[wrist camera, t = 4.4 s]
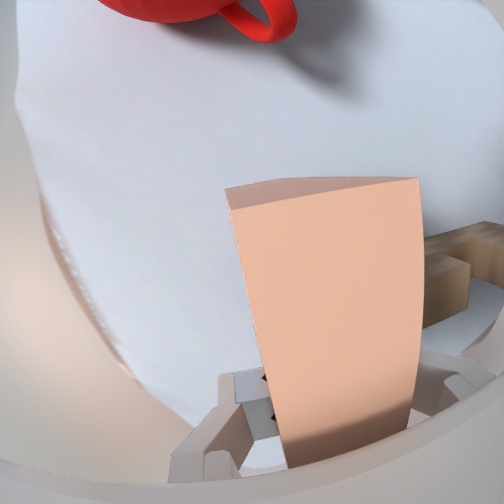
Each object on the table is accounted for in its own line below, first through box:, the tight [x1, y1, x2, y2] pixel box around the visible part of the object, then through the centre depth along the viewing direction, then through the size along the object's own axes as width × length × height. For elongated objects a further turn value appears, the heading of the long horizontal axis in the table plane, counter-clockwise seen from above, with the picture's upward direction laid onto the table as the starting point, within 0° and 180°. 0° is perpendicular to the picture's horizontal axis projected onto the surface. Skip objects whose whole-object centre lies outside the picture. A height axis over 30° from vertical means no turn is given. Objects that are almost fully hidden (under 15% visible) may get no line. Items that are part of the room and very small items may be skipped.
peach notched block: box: [225, 177, 424, 469], centre depth 11 cm, size 3×12×12 cm, turn 11°
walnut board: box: [422, 221, 504, 329], centre depth 18 cm, size 16×3×7 cm, turn 101°
